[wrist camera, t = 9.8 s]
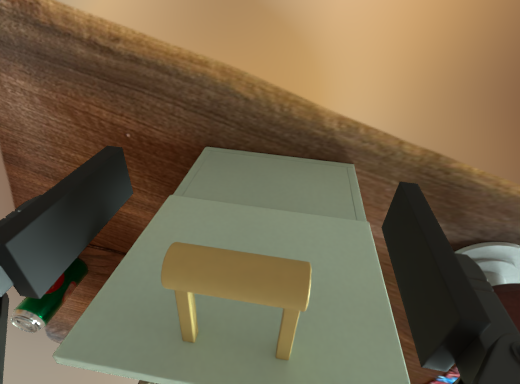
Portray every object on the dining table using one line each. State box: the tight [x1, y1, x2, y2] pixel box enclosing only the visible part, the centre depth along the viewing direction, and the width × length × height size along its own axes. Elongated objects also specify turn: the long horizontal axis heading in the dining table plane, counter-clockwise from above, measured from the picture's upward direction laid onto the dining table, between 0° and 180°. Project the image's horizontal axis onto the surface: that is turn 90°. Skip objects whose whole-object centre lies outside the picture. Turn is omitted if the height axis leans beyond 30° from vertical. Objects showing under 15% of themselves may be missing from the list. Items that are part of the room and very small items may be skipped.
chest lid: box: [53, 195, 410, 384], centre depth 18 cm, size 15×18×7 cm
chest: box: [173, 147, 367, 222], centre depth 35 cm, size 14×18×10 cm
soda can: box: [10, 258, 88, 333], centre depth 49 cm, size 5×5×12 cm
